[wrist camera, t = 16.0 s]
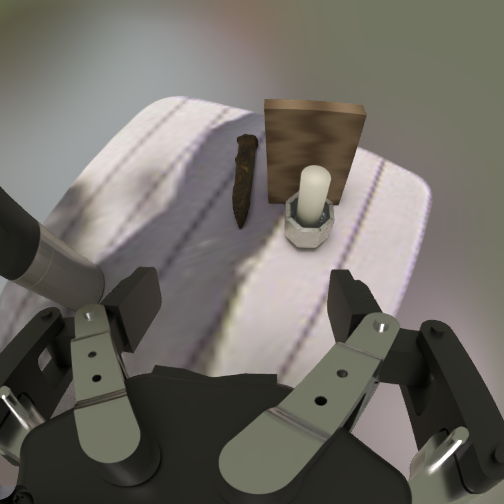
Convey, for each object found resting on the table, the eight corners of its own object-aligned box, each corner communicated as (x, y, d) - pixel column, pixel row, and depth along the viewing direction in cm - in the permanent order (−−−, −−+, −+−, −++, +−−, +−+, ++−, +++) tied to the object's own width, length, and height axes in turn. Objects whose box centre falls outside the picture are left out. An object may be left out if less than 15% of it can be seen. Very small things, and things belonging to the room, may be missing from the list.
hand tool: (238, 146, 53) (236, 130, 49) (258, 147, 53) (257, 130, 48) (223, 229, 46) (218, 215, 42) (247, 230, 45) (245, 216, 41)
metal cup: (284, 247, 41) (285, 231, 37) (284, 196, 45) (285, 177, 40) (329, 248, 41) (335, 232, 36) (325, 198, 44) (329, 179, 40)
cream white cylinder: (295, 236, 41) (301, 187, 30) (294, 215, 43) (300, 164, 32) (318, 236, 41) (332, 189, 30) (317, 216, 42) (329, 166, 31)
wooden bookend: (268, 203, 47) (264, 108, 29) (269, 175, 49) (265, 83, 31) (338, 205, 46) (366, 115, 28) (334, 178, 48) (356, 88, 30)
